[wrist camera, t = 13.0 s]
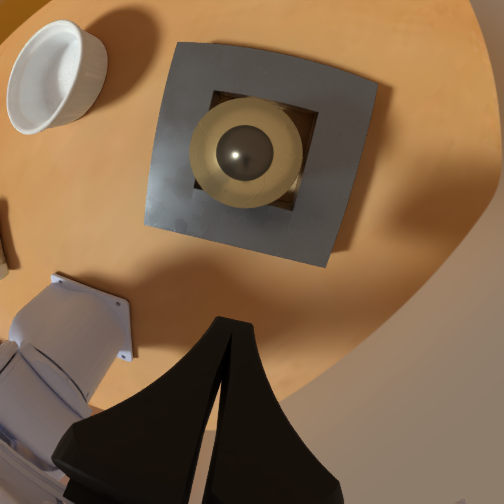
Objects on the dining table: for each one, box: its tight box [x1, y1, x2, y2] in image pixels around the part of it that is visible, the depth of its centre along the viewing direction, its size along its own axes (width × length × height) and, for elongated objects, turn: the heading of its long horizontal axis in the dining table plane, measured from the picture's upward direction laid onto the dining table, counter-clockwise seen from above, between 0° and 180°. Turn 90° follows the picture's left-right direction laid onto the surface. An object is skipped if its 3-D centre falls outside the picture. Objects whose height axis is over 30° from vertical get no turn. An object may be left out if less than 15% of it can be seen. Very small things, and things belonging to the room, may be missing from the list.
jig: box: [144, 42, 378, 268], centre depth 15 cm, size 12×12×2 cm
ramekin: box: [7, 20, 108, 135], centre depth 13 cm, size 9×9×4 cm
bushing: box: [189, 98, 303, 208], centre depth 13 cm, size 4×4×7 cm
